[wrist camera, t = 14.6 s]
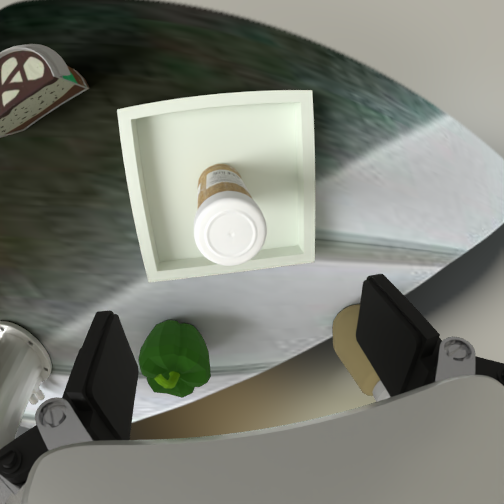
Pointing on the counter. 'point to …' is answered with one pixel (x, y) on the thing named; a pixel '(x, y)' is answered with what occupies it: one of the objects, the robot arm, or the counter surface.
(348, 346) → the squeeze bottle
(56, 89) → the food container
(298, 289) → the counter surface
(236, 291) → the counter surface
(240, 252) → the sprinkles bottle
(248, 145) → the tray
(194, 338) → the bell pepper
